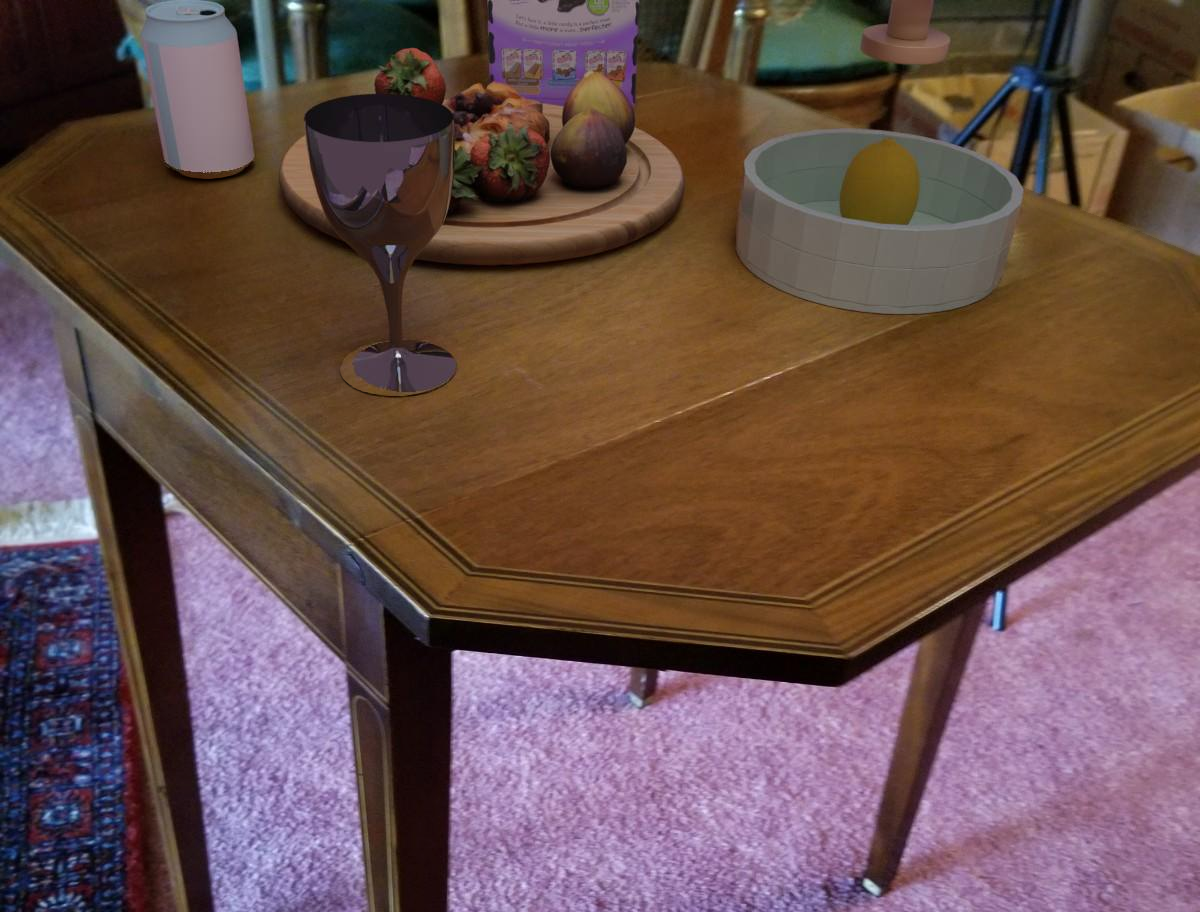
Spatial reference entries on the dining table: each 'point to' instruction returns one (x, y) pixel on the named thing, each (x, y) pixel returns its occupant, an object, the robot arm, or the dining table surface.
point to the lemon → (881, 185)
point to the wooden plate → (526, 171)
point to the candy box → (562, 45)
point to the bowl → (875, 225)
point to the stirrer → (906, 36)
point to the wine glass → (386, 209)
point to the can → (197, 86)
